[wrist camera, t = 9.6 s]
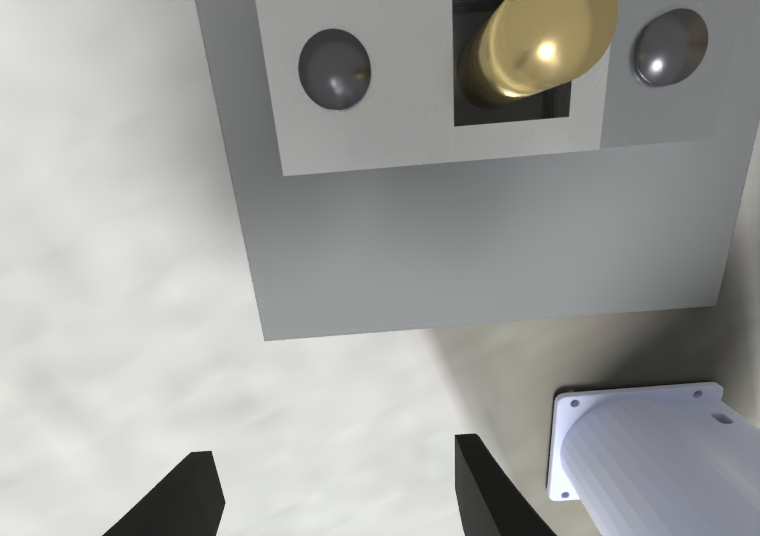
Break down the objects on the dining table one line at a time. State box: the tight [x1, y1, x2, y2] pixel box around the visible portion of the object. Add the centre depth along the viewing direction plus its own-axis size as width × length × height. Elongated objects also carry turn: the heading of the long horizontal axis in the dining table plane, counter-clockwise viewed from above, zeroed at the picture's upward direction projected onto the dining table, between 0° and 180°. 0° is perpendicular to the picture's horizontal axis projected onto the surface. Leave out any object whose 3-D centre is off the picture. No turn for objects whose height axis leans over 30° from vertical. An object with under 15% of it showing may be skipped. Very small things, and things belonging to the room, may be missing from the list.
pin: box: [457, 0, 618, 109], centre depth 12 cm, size 3×3×6 cm
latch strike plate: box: [255, 0, 740, 176], centre depth 14 cm, size 18×7×3 cm, turn 95°
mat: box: [195, 0, 760, 341], centre depth 16 cm, size 24×18×1 cm
